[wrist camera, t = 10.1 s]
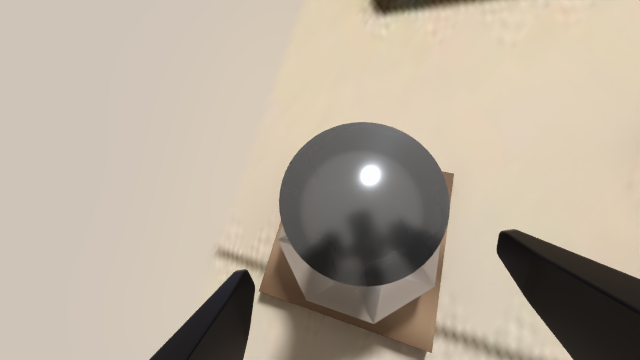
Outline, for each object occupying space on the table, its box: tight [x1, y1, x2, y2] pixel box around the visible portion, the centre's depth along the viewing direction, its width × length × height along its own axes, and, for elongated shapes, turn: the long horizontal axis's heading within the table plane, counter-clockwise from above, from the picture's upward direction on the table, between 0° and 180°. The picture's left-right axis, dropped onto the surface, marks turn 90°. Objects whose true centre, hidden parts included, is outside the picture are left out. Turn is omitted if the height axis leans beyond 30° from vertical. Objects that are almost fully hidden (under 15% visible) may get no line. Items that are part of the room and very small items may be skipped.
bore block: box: [259, 172, 454, 353], centre depth 16 cm, size 12×12×3 cm
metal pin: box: [279, 122, 449, 287], centre depth 11 cm, size 4×4×12 cm
